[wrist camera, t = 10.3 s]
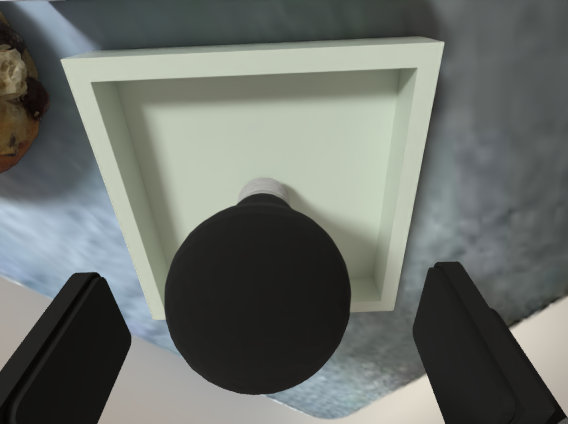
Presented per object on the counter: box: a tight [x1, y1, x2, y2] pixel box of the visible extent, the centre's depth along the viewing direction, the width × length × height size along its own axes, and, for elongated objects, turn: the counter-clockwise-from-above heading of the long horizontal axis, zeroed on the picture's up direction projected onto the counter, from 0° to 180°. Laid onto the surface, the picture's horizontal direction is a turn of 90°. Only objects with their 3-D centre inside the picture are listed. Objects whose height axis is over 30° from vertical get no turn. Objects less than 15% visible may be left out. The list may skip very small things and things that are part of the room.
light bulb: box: [164, 178, 351, 395], centre depth 13 cm, size 6×6×10 cm
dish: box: [60, 36, 444, 320], centre depth 17 cm, size 14×14×2 cm
